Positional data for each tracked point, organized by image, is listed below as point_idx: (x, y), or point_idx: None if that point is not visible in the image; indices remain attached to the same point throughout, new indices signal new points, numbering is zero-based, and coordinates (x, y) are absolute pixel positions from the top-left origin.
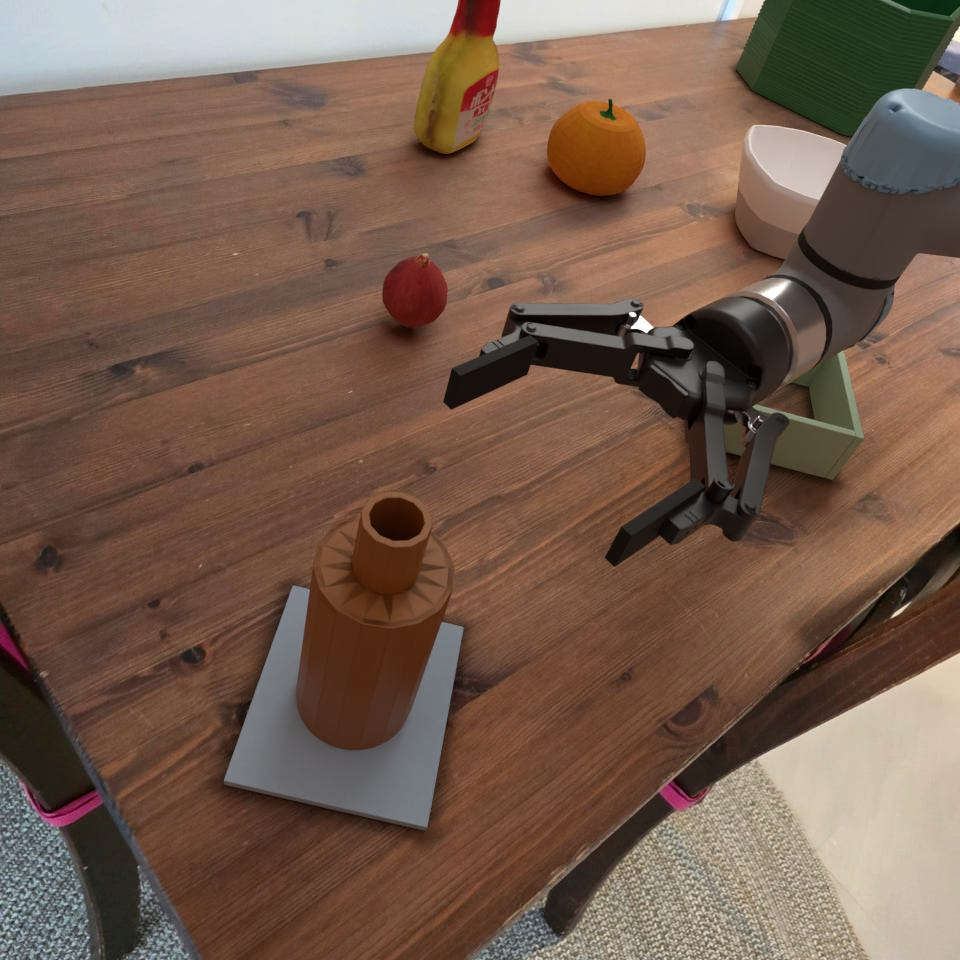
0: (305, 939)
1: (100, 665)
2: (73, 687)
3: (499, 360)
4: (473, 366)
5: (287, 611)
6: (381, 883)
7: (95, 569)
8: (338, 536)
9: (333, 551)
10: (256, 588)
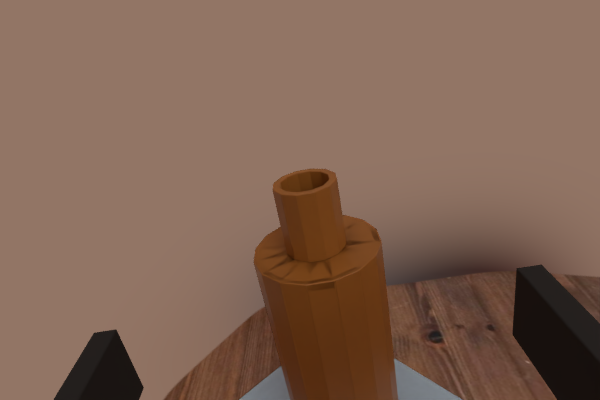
0: (235, 335)
1: (445, 296)
2: (433, 285)
3: (582, 348)
4: (547, 291)
5: (452, 396)
6: (225, 377)
7: None
8: (363, 229)
9: (350, 224)
10: (492, 392)
